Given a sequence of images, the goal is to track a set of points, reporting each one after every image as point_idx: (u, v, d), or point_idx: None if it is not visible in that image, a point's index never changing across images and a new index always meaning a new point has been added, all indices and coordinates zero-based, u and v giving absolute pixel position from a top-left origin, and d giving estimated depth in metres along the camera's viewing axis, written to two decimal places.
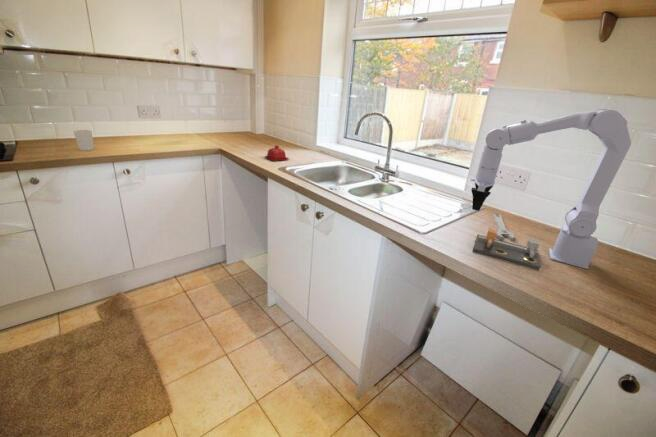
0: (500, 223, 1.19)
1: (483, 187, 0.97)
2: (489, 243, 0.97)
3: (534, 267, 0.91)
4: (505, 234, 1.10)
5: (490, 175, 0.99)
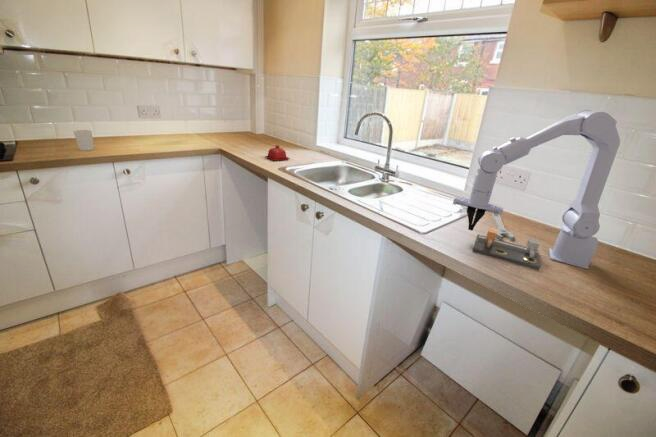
0: (499, 223, 1.20)
1: (454, 199, 1.03)
2: (489, 243, 0.97)
3: (534, 267, 0.91)
4: (504, 233, 1.10)
5: (471, 195, 0.99)
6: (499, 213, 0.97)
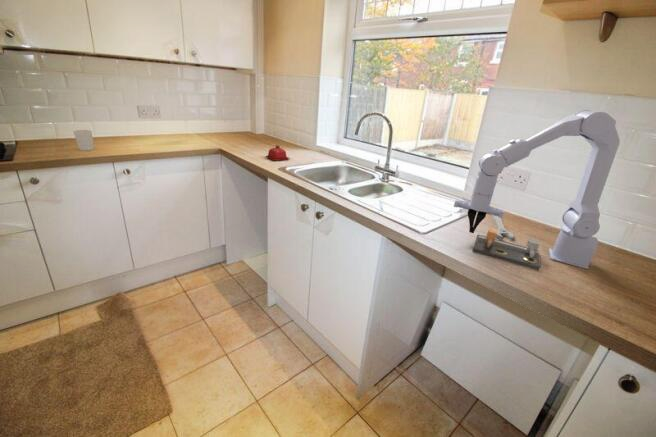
0: (499, 222, 1.20)
1: None
2: (489, 243, 0.97)
3: (534, 267, 0.91)
4: (504, 233, 1.10)
5: (472, 198, 1.00)
6: (500, 216, 0.97)
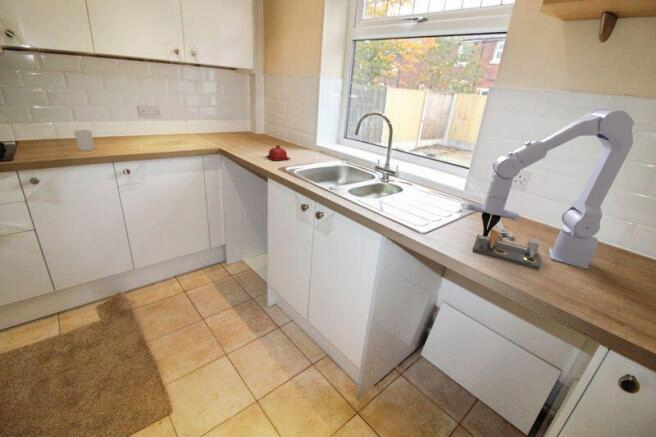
0: (498, 222, 1.20)
1: (468, 205, 1.02)
2: (492, 244, 0.97)
3: (534, 267, 0.91)
4: (504, 233, 1.11)
5: (486, 201, 0.98)
6: (515, 219, 0.96)
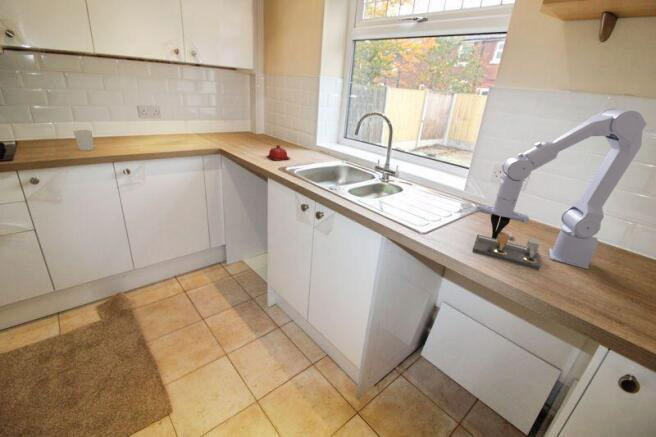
0: None
1: None
2: (501, 246, 0.96)
3: (534, 267, 0.91)
4: None
5: (495, 203, 0.97)
6: (525, 221, 0.95)
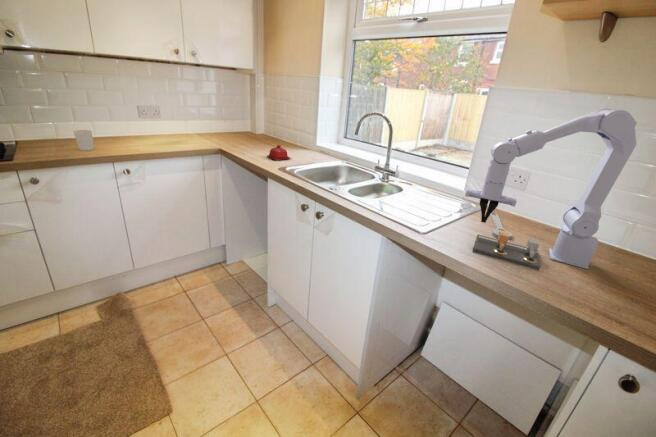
0: (497, 222, 1.20)
1: (466, 191, 1.03)
2: (501, 246, 0.96)
3: (534, 267, 0.91)
4: None
5: (484, 187, 0.99)
6: (513, 204, 0.97)
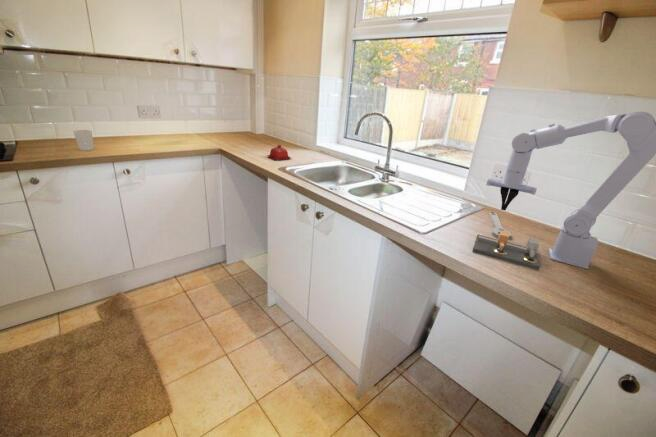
0: (496, 221, 1.21)
1: None
2: (501, 246, 0.96)
3: (534, 267, 0.91)
4: None
5: (505, 176, 1.04)
6: (532, 192, 1.02)
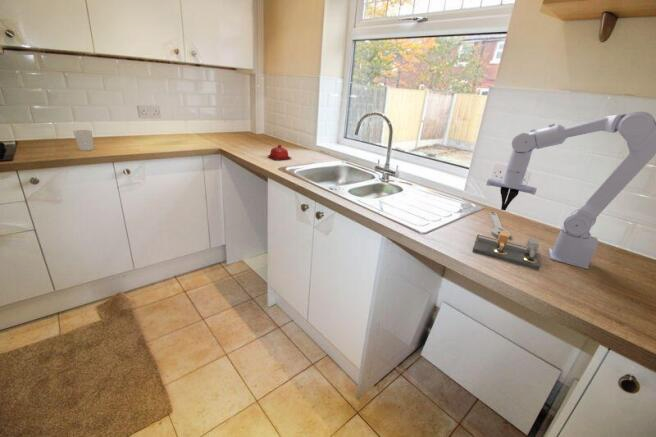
0: (496, 221, 1.21)
1: None
2: (501, 246, 0.96)
3: (534, 267, 0.91)
4: None
5: (505, 176, 1.04)
6: (532, 192, 1.02)
